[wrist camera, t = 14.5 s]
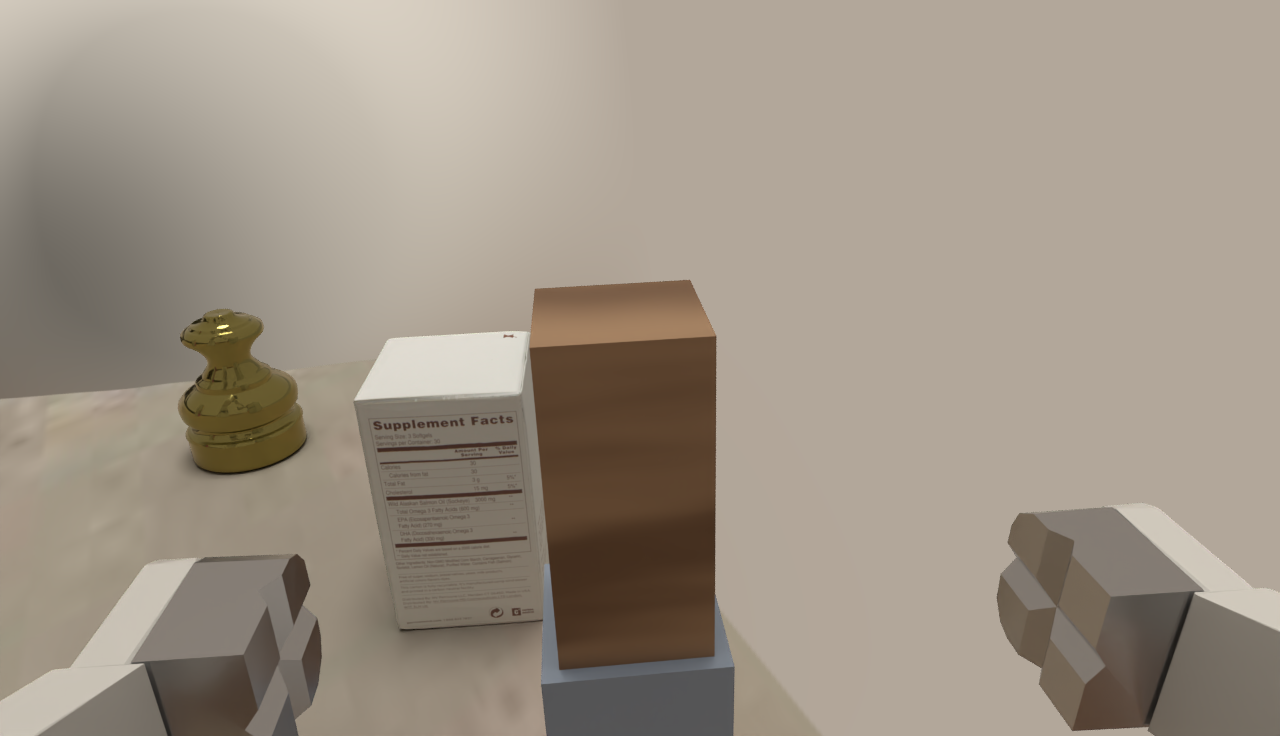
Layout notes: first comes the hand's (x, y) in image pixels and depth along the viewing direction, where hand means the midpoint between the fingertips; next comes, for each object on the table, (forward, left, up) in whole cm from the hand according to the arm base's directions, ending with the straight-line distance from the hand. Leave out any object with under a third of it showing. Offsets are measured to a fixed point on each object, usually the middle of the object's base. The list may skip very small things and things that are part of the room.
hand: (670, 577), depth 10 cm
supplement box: (+17, +23, -22) cm, 36 cm away
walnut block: (+10, +8, -11) cm, 17 cm away
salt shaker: (+19, +47, -22) cm, 55 cm away
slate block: (+10, +8, -16) cm, 21 cm away
